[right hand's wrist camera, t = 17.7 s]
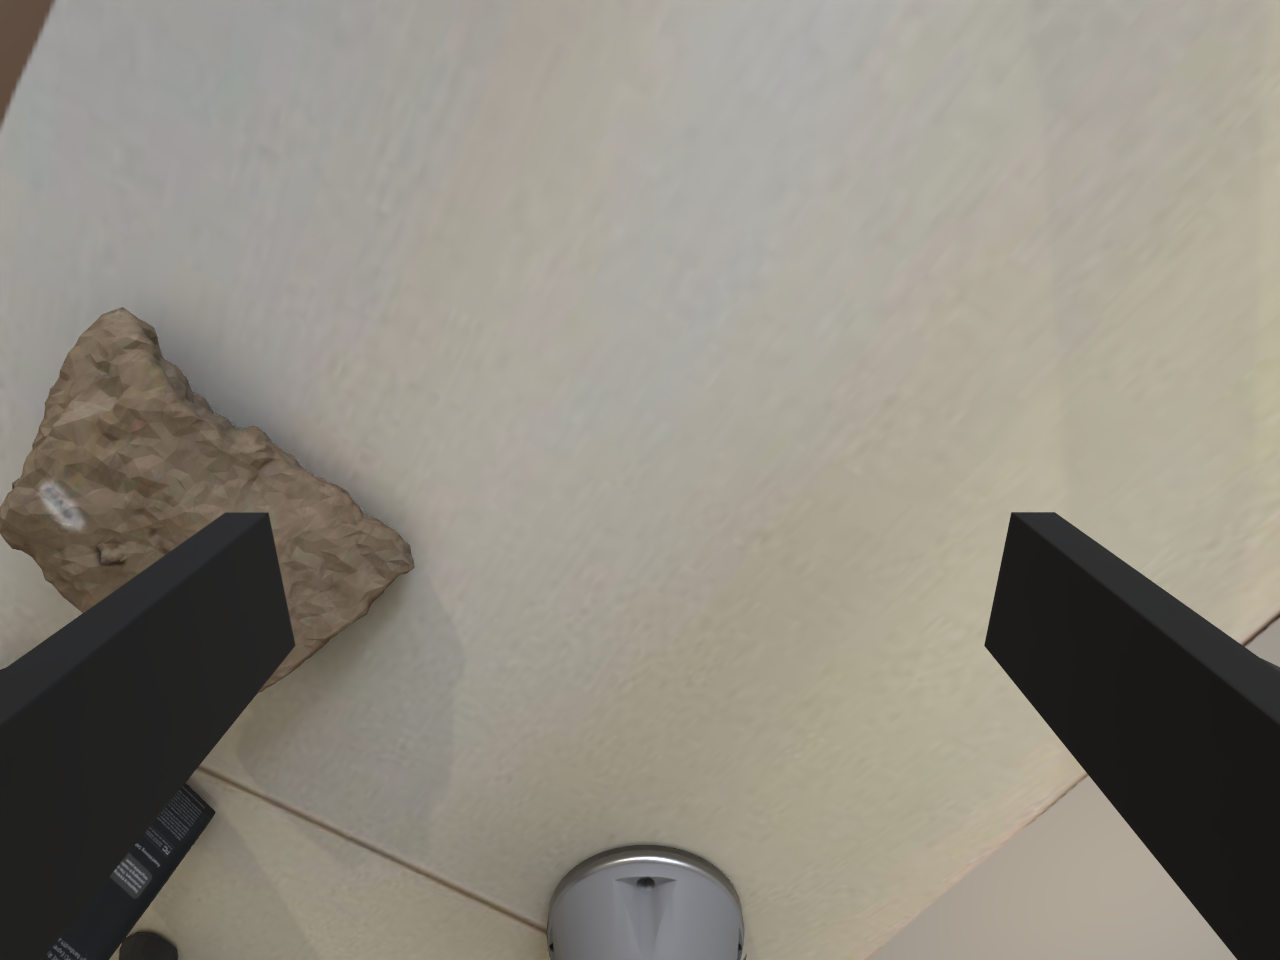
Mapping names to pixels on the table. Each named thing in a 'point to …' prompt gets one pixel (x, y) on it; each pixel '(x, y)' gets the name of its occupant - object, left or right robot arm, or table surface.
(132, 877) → the graphics card box
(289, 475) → the stone
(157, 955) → the robot
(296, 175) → the table surface
